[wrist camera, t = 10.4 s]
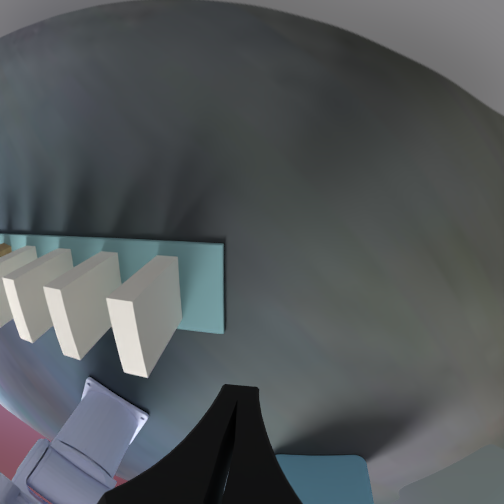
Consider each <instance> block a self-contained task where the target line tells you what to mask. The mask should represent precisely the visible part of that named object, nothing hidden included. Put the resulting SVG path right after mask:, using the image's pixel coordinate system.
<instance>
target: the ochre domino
mask: <svg viewBox="0 0 504 504" xmlns="http://www.w3.org/2000/svg"><path fill="white" fill-rule="evenodd" d="M11 252H12V249H11V246H9V245H7V244H5V243H2V244H0V257H2V256H4V255H6V254H9V253H11Z"/></svg>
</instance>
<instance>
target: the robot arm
mask: <svg viewBox="0 0 504 504" xmlns="http://www.w3.org/2000/svg"><path fill="white" fill-rule="evenodd" d="M148 417H149V415H148V414H147V413H146V412H144V411H142V410H140V409H139V408H137V407H135V406H134V405H132V404H130V403H129V402H127V401H125V400H124V399H122V398H121V397H119V396H118V395H116V394H114V393H113V392H111V391H110V390H108V389H107V388H105V387H104V386H102V385H101V384H100V383H98V382H97V381H95V380H94V379H92V378H91V377H88V378H87V379H86V383H85V387H84V391H83V395H82V399H81V402H80V403H79V405H78V406H77V407H76V409H75V410H74V412H73V413H72V414H71V416H70V417H69V419H68V420H67V421H66V423H65V424H64V426H63V427H62V428H61V430H60V431H59V433H58V434H57V436H56V437H55V438H54V440H53V441H51V442H49V441H48V440H47V439H39V440H38V441H37V442H36V443H35V445H34V446H33V447H32V449H31V450H30V451H29V453H28V454H27V456H26V457H25V459H24V460H23V461H22V463H21V464H20V466H19V468H18V469H17V473H16V474H15V476H14V477H13V479H12V481H10V480H9V479H8V478H7V477H6V476H4V475H3V474H2V473H0V504H48V503H47V502H45V501H44V500H43V499H41V498H40V497H39V496H37V495H36V494H35V493H33V492H32V491H31V490H30V488H29V487H31V488H32V489H33V490H35V491H36V492H37V493H39V494H40V495H41V496H43V497H44V498H45V499H47V500H48V501H50V502H51V503H53V504H303V503H302V502H301V500H300V499H299V497H298V496H297V494H296V493H295V491H294V490H293V488H292V486H291V485H290V483H289V482H288V480H287V478H286V476H285V474H284V473H283V471H282V469H281V467H280V465H279V463H278V461H277V458H276V456H275V454H274V451H273V449H272V446H271V444H270V441H269V438H268V435H267V432H266V429H265V425H264V422H263V418H262V414H261V408H260V402H259V389H258V388H257V387H251V386H239V385H230V384H225V385H223V386H222V388H221V390H220V392H219V394H218V396H217V397H216V399H215V400H214V402H213V404H212V405H211V407H210V408H209V409H208V411H207V412H206V413H205V415H204V416H203V417H202V419H201V420H200V421H199V423H198V424H197V425H196V426H195V427H194V428H193V430H192V431H191V432H190V433H189V434H188V435H187V436H186V437H185V438H184V440H183V441H182V442H181V443H180V444H178V445H177V446H176V447H175V448H174V449H173V450H172V451H171V452H170V453H169V454H167V455H166V456H165V457H164V458H162V459H161V460H160V461H159V462H157V463H156V464H155V465H153V466H152V467H151V468H149V469H147V470H146V471H144V472H143V473H141V474H140V475H138V476H136V477H135V478H133V479H131V480H130V481H128V482H126V483H124V484H122V485H120V486H117V487H115V484H116V482H117V481H115V480H114V479H113V477H114V475H115V473H116V470H117V468H118V466H119V464H120V462H121V460H122V458H123V456H124V454H125V452H126V450H127V448H128V446H129V444H131V442H132V441H133V439H134V438H135V437H136V435H137V434H138V432H139V431H140V429H141V428H142V426H143V425H144V424H145V422H146V421H147V419H148ZM229 468H230V469H229ZM228 472H229V473H228ZM227 475H228V478H227ZM226 479H227V482H226ZM225 483H226V486H225ZM28 486H29V487H28ZM114 487H115V488H114ZM224 487H225V490H224ZM223 493H224V494H223Z"/></svg>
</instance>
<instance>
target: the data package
mask: <svg viewBox="0 0 504 504" xmlns="http://www.w3.org/2000/svg"><path fill="white" fill-rule="evenodd" d="M275 456H276V458H277V461H278V463H279V465H280V467H281V469H282V471H283V473H284V474H285V476H286V478H287V480H288V482H289V483H290V485H291V486H292V488H293V490H294V491H295V493H296V494H297V496H298V497H299V499H300V500H301V502H302V503H303V504H374V502H373V496H372V490H371V485H370V479H369V474H368V469H367V464H366V461H365V460H364V459H363V458H362V457H360V456H358V455H333V456H312V455H287V454H278V455H275Z"/></svg>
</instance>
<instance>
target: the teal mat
mask: <svg viewBox="0 0 504 504" xmlns="http://www.w3.org/2000/svg"><path fill="white" fill-rule="evenodd" d="M2 243H5V244H7V245H9V246H11V249H12V252H13V251H15V250H17V249H19V248H22V247H24V246H35V247H36V253H37V258H39V257H41V256H43V255H45V254H47V253H49V252H51V251H53V250H55V249H57V248H64V249H71V254H72V261H73V267H75V266H77V265H79V264H80V263H82V262H84V261H85V260H87V259H89V258H90V257H92V256H94V255H96V254H97V253H99V252H101V251H104V252H118V261H119V269H120V276H121V283H122V284H123V283H124V282H125V281H126V280H128V279H129V278H130V277H131V276H132V275H134V274H135V273H136V272H137V271H138V270H140V269H141V268H142V267H143V266H145V265H146V264H147V263H148V262H149V261H151V260H152V259H153V258H154V257H156V256H157V255H161V256H176V257H178V268H179V284H180V297H181V309H182V320H181V322H180V324H179V325H178V327H177V329H183V330H191V331H199V332H208V333H218V334H224V331H225V330H224V244H223V243H204V242H185V241H165V240H144V239H123V238H101V237H78V236H55V235H30V234H3V233H0V244H2Z"/></svg>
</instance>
